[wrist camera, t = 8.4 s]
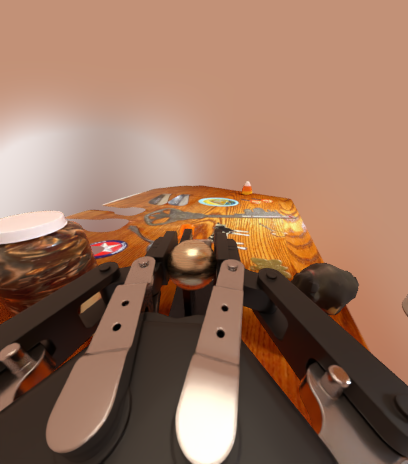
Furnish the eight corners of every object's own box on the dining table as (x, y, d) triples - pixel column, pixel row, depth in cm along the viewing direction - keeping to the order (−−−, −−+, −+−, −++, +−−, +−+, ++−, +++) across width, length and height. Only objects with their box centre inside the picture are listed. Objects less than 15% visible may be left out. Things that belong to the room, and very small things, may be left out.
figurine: (312, 379, 18) (356, 304, 13) (268, 338, 22) (288, 268, 17) (334, 344, 21) (375, 273, 16) (292, 313, 26) (315, 249, 20)
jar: (97, 269, 36) (72, 203, 29) (112, 301, 28) (83, 220, 21) (22, 298, 29) (-34, 219, 22) (14, 352, 21) (-76, 255, 14)
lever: (217, 300, 9) (218, 241, 9) (159, 297, 9) (160, 240, 9) (214, 260, 22) (215, 236, 22) (191, 259, 22) (191, 236, 22)
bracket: (240, 358, 20) (255, 270, 14) (161, 353, 21) (142, 266, 15) (231, 286, 31) (237, 219, 25) (179, 284, 31) (172, 218, 25)
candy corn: (241, 194, 97) (242, 181, 94) (241, 193, 100) (242, 180, 96) (251, 195, 96) (253, 181, 92) (251, 194, 98) (253, 180, 95)
